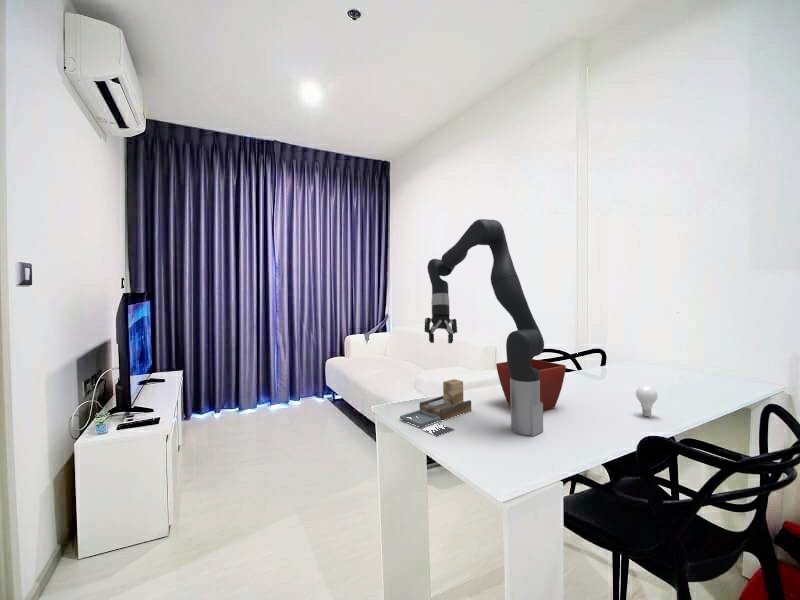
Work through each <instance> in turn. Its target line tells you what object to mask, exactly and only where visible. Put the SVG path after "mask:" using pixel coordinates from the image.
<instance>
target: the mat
mask: <svg viewBox="0 0 800 600" xmlns="http://www.w3.org/2000/svg"><path fill="white" fill-rule="evenodd" d="M437 423H438V424H439V425H440V424H441V423H440V422H437ZM442 425H443V427H444V426H446V427H444V428H445V429H442V428H439V427H438V428H439V429H440V430H439V429H437V428H436V427H435V428H436V429H437V430H438V431H436V430H434V431H435V432H433V430H431V431H432V433H433V434H434V435H436V436H435V437H437V436H438V437H440V436H439V435H441V434H443V435H445V434H444V433H446V434H448V433H450V432H449V431H451V432H453V431H452V430H454V431H455V428H452V427H449V426H447V425H444V424H442ZM437 426H438V425H437ZM426 431H427V430H426ZM427 432H429V431H427ZM427 432H426V433H427ZM447 432H448V433H447ZM434 435H433V436H434ZM441 436H442V435H441Z"/></svg>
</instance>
